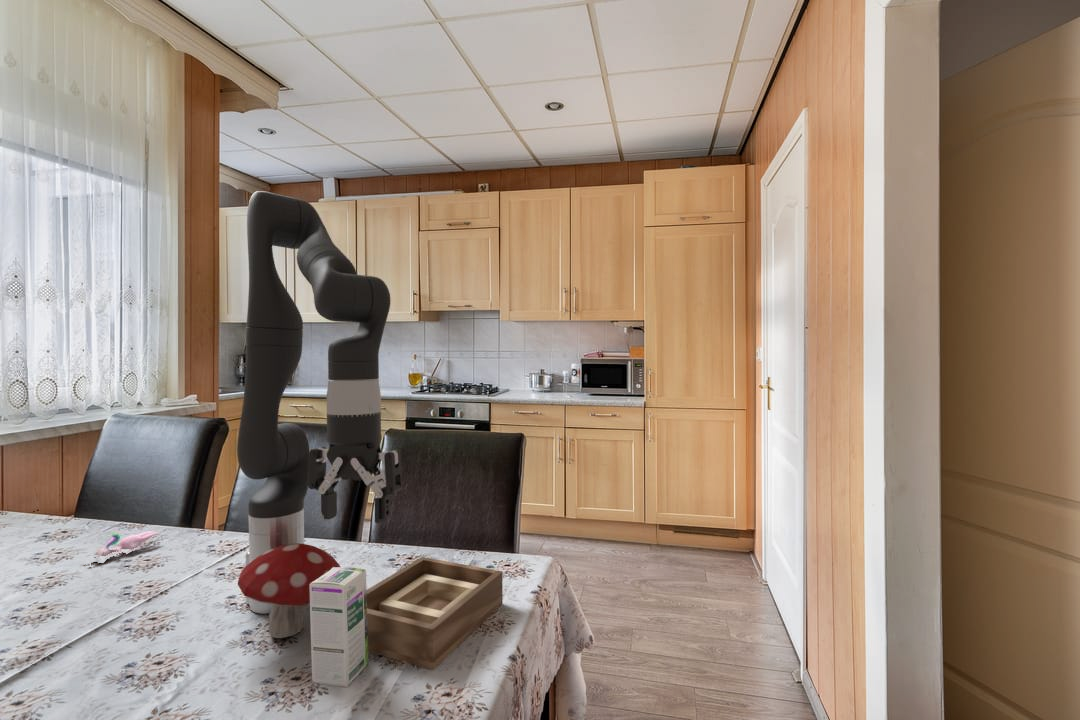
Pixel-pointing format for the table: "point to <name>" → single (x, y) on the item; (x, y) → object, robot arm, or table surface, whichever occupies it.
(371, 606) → the crate
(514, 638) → the table surface
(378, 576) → the table surface
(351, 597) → the syrup box
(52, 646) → the table surface
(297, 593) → the decorative mushroom
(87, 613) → the table surface
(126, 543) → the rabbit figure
